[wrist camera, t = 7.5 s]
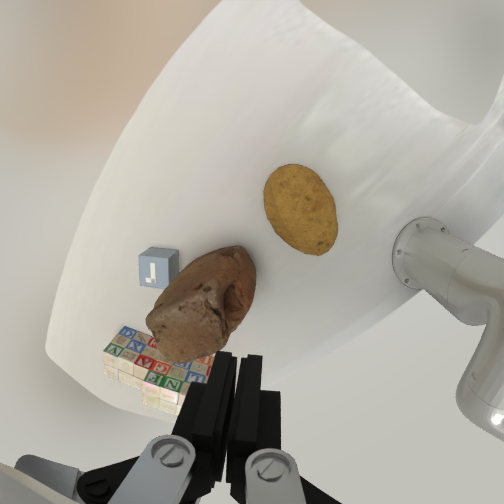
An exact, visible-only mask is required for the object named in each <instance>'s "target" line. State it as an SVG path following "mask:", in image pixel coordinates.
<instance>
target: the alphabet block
mask: <svg viewBox="0 0 504 504" xmlns="http://www.w3.org/2000/svg"><path fill="white" fill-rule="evenodd" d="M138 257H139V278H140V286H146V287H153V288H160V289H165V288H166V287H167V286H168V285H169V284H170V283H171V282H172V281H173V279H174V278H175V277H176V276H177V275H178V250H173V249H162V248H152V247H151V248H149V249H147V250H146V251H144V252H143V253H141V254H140V255H138Z"/></svg>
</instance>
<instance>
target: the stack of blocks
mask: <svg viewBox="0 0 504 504" xmlns="http://www.w3.org/2000/svg"><path fill="white" fill-rule="evenodd" d="M214 358H215V357H212V356H210V355H209V356H206V357H204V358H201V359H197V360H194V361H191V362H188V363H184V364H177V363H172V362H169V361H168V360H167V359H166V358H165V357H164V356H163V355H162V354H161V353H160V351H159V349H158V347H157V345H156V343H155V339H154V338H153V337H151V336H149V335H146V334H144V333H141V332H138V331H136V330H133V329H130V328H128V327H124V328H123V329H122V330H121V331H120V332H119V333H118V334H117V335H116V336H115V337H114V338H113V340H112V341H111V343H110V344H109V345H108V346H107V347H106V348H105V350H104V351H103V361H104V375H106V376H108V377H110V378H113V379H115V380H118V381H119V382H122V383H124V384H126V385H129V386H131V387H134V388H136V389H139V390H141V391H143V404H145V405H147V406H150V407H153V408H156V409H159V410H162V411H164V412H168V413H170V414H174V415H177V416H178V415H179V412H180V410H181V407H182V404H183V402H184V399H185V396H186V394H187V391H188V388H189V386H190V384H191V382H192V381H194V382H200V383H206V384H207V380H208V377H209V374H210V371H211V367H212V364H213V361H214Z"/></svg>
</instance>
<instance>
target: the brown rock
mask: <svg viewBox="0 0 504 504" xmlns="http://www.w3.org/2000/svg"><path fill="white" fill-rule="evenodd" d="M255 286H256V272H255V268H254V265H253V263H252V260H251V259H250V257H249V255H248V254H247V253H246V251H245V250H244V249H243V248H242V247H240V246H234V247H228V248H223V249H219V250H216V251H213V252H210V253H208V254H206V255H203V256H201V257H200V258H198V259H196V260H194V261H193V262H191V263H190V264H189V265H187V266H186V267H185V268H184V269H183V270H182V271H181V272H180V273H179V274H178V275H177V276H176V277H175V278H174V279H173V281H172V282H171V283H170V284H169V285H168V286H167V287H166V288H165V290H164V291H163V293H162V294H161V295H160V296H159V298H158V299H157V301H156V302H155V305H154V309H153V310H152V311H151V312H150V313H149V314H148V315H147V317H146V325H147V327H148V329H149V330H150V331H152V334H153V336H154V339H155V343H156V345H157V347H158V349H159V351H160V353H161V354H162V355H163V356H164V357H165V358H166V359H167V360H168V361H169V362H172V363H177V364H184V363H188V362H191V361H194V360H197V359H201V358H204V357H206V356H209V355H212V354H214V353H216V352H217V351H219V350H221V349H222V348H223V347H224V346H225V345H226V343H227V341H228V338H229V336H230V334H231V332H233V331H234V330H236V328H237V326H238V325H239V324H241V322H242V320H243V319H244V317H245V315H246V314H247V312H248V311H249V309H250V307H251V304H252V302H253V298H254V293H255Z"/></svg>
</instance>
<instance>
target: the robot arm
mask: <svg viewBox="0 0 504 504" xmlns="http://www.w3.org/2000/svg"><path fill="white" fill-rule="evenodd" d="M416 224H417V225H416ZM397 251H398V252H397ZM392 260H393V267H394V271H395V273H396V275H397V277H398V278H399V279H400V281H401V282H402V283H403V284H404V285H406V286H408V287H409V288H413V289H424V290H425V291H427V292H428V293H429V294H430V295H432V297H434V298H435V299H436V300H437V301H438V302H439V303H440V304H441V305H443V306H444V307H445V308H446V309H447V310H448V311H449V312H450V313H451V314H452V315H454V316H455V317H456V318H457V319H458V320H460V321H461V322H463V323H465V324H467V325H472V326H477V325H484V324H486V327H485V330H484V332H483V335H482V337H481V340H480V342H479V344H478V346H477V348H476V350H475V352H474V354H473V356H472V358H471V360H470V362H469V364H468V366H467V368H466V370H465V372H464V374H463V375H462V377H461V379H460V381H459V384H458V386H457V390H456V402H457V405H458V407H459V409H460V411H461V412H462V413H463V415H464V416H465V417H466V418H468V419H469V420H470V421H471V422H472V423H474V424H475V425H477V426H478V427H480V428H482V429H483V430H485V431H486V432H488V433H490V434H492V435H493V436H495V437H497V438H499V439H500V440H502V441H504V259H502V258H500V257H498V256H495V255H493V254H491V253H489V252H487V251H485V250H482V249H480V248H478V247H475V246H474V245H471V244H469V243H467V242H464V241H462V240H460V239H458V238H455V237H453V236H450V233H449V231H448V230H447V228H446V227H445V226H444V225H443V224H442V223H441V222H439V221H438V220H435V219H432V218H420V219H416V220H414V221H412V222H411V223H409V224H408V225H407V226H406V227H405V228H404V229H403V230H402V231H401V233H400V234H399V236H398V238H397V240H396V243H395V245H394V249H393V258H392ZM262 357H263V356H260V355H250V354H248V357H247V358H241V364H240V369H239V375H238V381H237V387H236V393H235V383H236V367H237V357H233V356H232V352H224V351H217V352H216V355H215V358H214V361H213V364H212V367H211V371H210V374H209V377H208V380H207V384H206V383H200V382H194V381H192V382H191V384H190V386H189V388H188V391H187V394H186V396H185V399H184V402H183V404H182V407H181V410H180V412H179V415H178V418H177V420H176V423H175V426H174V428H173V431H172V434H171V435H163V436H159V437H156V438H155V439H153V440H152V441H151V442H150V443H149V444H148V445H147V447H146V448H145V450H144V451H143V452H142V454H141V455H140V456H138V457H135V458H131V459H128V460H125V461H122V462H119V463H116V464H112V465H109V466H105V467H102V468H98V469H94V470H91V471H88V472H82V471H80V470H79V469H78V468H74V467H70V466H67V465H63V464H59V463H56V462H53V461H50V460H46V459H43V458H40V457H37V456H34V455H24V456H22V457H20V458H19V459H18V461H17V462H16V465H15V467H14V468H12V467H10V466H7V465H4V464H2V463H0V504H199V502H200V499H201V497H202V496H204V495H206V494H208V493H210V492H211V488H214V485H215V481H219V482H221V480H222V473H223V468H224V463H225V457H226V452H227V465H226V483H231V490H230V491H231V492H230V495H231V496H232V497H233V498H234V499H235V500H236V501H237V502H238V503H239V504H342V503H340V502H338V501H337V500H335V499H334V498H332V497H330V496H329V495H327V494H326V493H324V492H323V491H321V490H320V489H318V488H317V487H315V486H314V485H313V484H311V483H310V482H308V481H307V480H305V479H304V478H303V477H301V476H300V475H299V472H298V468H297V464H296V462H295V460H294V459H293V458H292V457H291V456H290V455H289V454H288V453H286V452H284V451H282V450H281V397H280V391H266V390H260V387H261V373H262Z"/></svg>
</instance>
